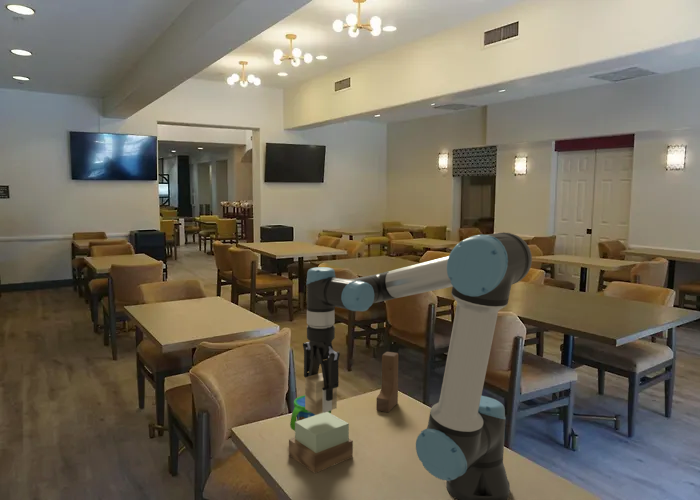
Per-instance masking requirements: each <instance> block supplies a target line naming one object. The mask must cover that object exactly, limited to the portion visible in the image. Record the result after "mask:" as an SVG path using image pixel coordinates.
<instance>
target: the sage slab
mask: <svg viewBox="0 0 700 500" xmlns="http://www.w3.org/2000/svg"><path fill="white" fill-rule="evenodd" d="M349 426H350V424H349V422H347V421H345V420H343V419H341V418H340V417H337V416H336V415H334V414H332V412H331V413H329V412H325V413H321V414H318V415H315V416H312V417H309V418H306V419H302V420H299V421H296V422H295V431H294V438H295V439H296V440H297V441H299V442H300V443H302V444H303V445H305V446H306V447H308V448H309V449H311V450H312V451H314V452H315V453H318V452H321V451H323V450H326V449H328V448H331V447H334V446H336V445H339V444H342V443H344V442H347V441H349V439H350V436H349V435H350V434H349V433H350V432H349V431H350V429H349V428H350V427H349Z"/></svg>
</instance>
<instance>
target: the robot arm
mask: <svg viewBox="0 0 700 500" xmlns="http://www.w3.org/2000/svg"><path fill="white" fill-rule="evenodd" d="M532 257H533V256H532V251H531V248H530V247H529V245H528V243H527V242H526V241H525V240H524V239H523V238H522V237H520V236H518V235H516V234H514V233H511V232H504V231H503V232H496V233H489V234H477V235H476V234H475V235H472V236H470V237H467V238H464V239H463V240H461V241H459V242H458V243H457V244H456V245H455V246H454V247H453V249H451V251H450V253H449V255H448V256H442V257H438V258H436V259H431V260H428V261H423V262H420V263H419V262H418V263H416V264H412V265H408V266H404V267H401V268H400V267H399V268H396V269H393V270H389V271H385V272H381V273H375V274H370V275H367V276H361V277H355V278H340V277H336V272H335V269H334V268H332V267H327V266H325V267H323V266H320V267H319V266H317V267H311V268H309V269H308V270H307V273H306V282H305V283H306V284H305V285H306V339H307V342H303V343H302V348H303V376H304V378H305V377H308V376H312V375H316V374H319V370H320V366H321V373H322V374H323V381H324V388H322V412H323V413H325V412H328V411H331V412H332V399H333V388H338V387H339V380H340V379H339V360H340V355H341V354H340V351H335V350H334V348H333V344H332V342H333V341H334V339H335V333H336V332H335V331H336V327H335V325H334V324H335V322H336V321H335V320H336V319H335V317H336V316H335V309H336V308H341V309H345V310H349V311H352V312H366V311H368V310H369V308H370V307H371V306H372V305H373V304H376V303H381V302H384V301H385V302H386V301H390V300H394V299H398V298H403V297H408V296H413V295H419V294H423V293H428V292H434V291H438V290H443V289H447V288H451V293H450V294H451V296H452V297H453V299H454V300H455V302H456V308H455V314H454V319H453V324H452V329H451V330H452V331H451V335H450V340H449V347H448V351H447V356H446V361H445V368H444V373H443V378H442V384H441V389H440V395H439V400H438V402H437V403H435V404H433V405H432V407H431V408H430V411H429V416H428V421H427V422H428V423H427V427H426V428H424V429H423V430H421V431H420V433H419V435H417V438H416V441H415V450H416V455H417V458H418V460H419V461H420V462H421V464H422V466H423V467H424V469H425V470H426V471H427V472H428V473H429V474H430V475H432V476H433V477H435V478H437V479H439V480H440V481H441V480H442V481H445V482H446V483H445V484H446V489H447V492H448V493H449V495H451V496H452V497H453V498H454V499H456V500H508V499H509V497H510V490H511V489H510V488H511V487H510V486H511V485H510V481H509V479H508V476H507V471H506V468H505V464H504V453H505V451H504V448H505V430H506V419H507V417H506V409H505V408H506V407H505V406H504V404H503V403H502V402H501V401H499V400H497V399H495V398H493V397H489V396H486V395H482V394H483V389H484V384H485V380H486V379H485V378H486V374H487V370H488V365H489V361H490V353H491V350H492V345H493V344H492V343H493V339H494V334H495V329H496V326H497V325H496V324H497V319H498V316H499V315H498V314H499V311H500V310H502V309H504V308H505V307H507V306H508V303H509V301H510V300H509V299H510V294H511V289H512V285H515V284H517V283H519V282H521V281H522V280H523V279H524V278H525V277H527V275H528V273H529V272H530V269H531V267H532V263H533V258H532Z"/></svg>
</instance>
